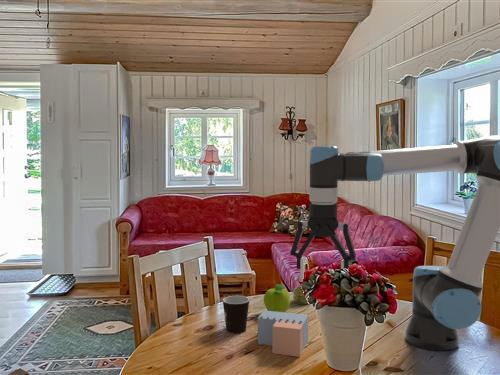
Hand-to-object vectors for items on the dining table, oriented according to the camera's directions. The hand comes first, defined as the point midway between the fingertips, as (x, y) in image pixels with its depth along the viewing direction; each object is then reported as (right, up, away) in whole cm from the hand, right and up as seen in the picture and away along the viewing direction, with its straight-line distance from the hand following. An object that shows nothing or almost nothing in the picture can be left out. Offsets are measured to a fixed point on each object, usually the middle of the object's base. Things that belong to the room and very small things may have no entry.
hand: (322, 282), depth 135 cm
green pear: (0, -18, +51) cm, 54 cm away
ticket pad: (-10, -21, +13) cm, 27 cm away
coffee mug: (-24, -20, +25) cm, 40 cm away
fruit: (-11, -19, +38) cm, 44 cm away
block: (-9, -21, +6) cm, 24 cm away
